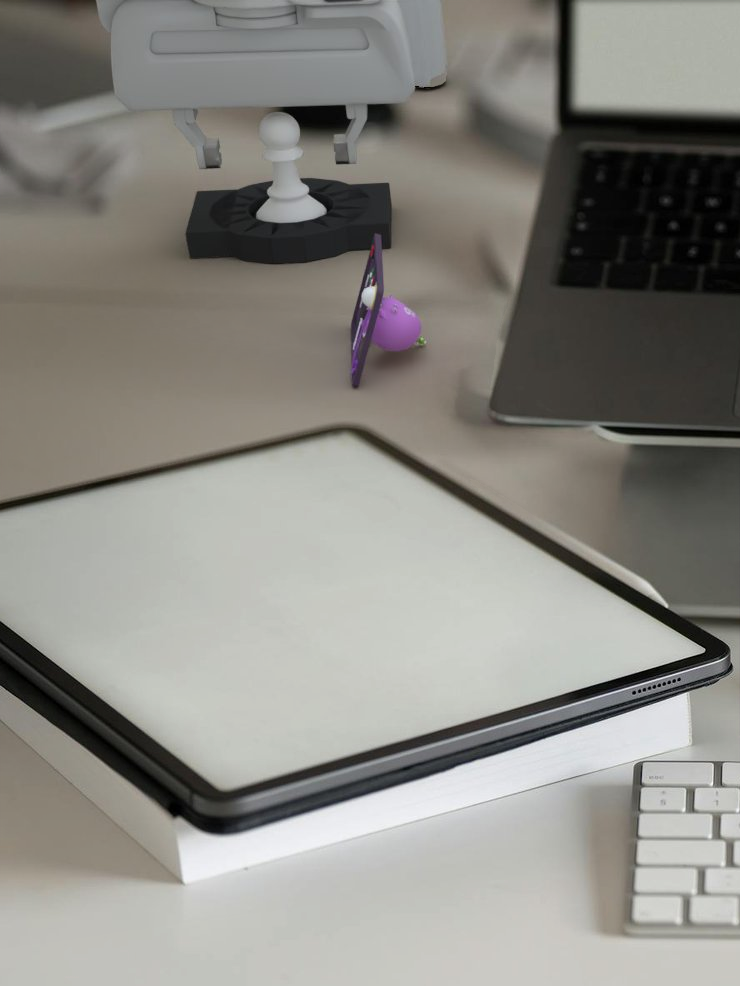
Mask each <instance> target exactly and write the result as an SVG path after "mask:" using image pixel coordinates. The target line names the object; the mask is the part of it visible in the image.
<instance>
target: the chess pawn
mask: <svg viewBox="0 0 740 986" xmlns="http://www.w3.org/2000/svg"><path fill="white" fill-rule="evenodd" d="M258 135H259V138H260V140H261V142H262V144H263V145H264V146H265V147H266V148H265V149H264V151H262V155H261V157H262V158H263V159H264V160H265V161H268V162H272V172H273V174H272V175H273V176H272V177H273V179H272V181H273V184H272V186H271V187H269V189H268V190H267V194H268V195H269V197H270V198H269V199H268V200H267V201H266V202H265V203H264V204H263V206H262V207H261V208H260V209H259V210H258V211H257V213H256V219H259V220H262V221H267V222H276V223H291V222H300V221H305V220H310V219H315V218H317V217H320V216H322V215H325V214H326V212H327V210H326V208H325V207H324V205H322V204H321V203H320V202H318V201H317V200H315V199H314V198H312V197H311V196H309V195H308V192H309V188H308V186H307V185H305V184H303V183H302V182H301V180H300V178H301V177H300V176H299V172H298V169H297V164H296V160H298V159H300V158H302V157H303V156H304V150H302V148H301V147H299V146H298V145H297V144H298V142H299V141H300V137H301V128H300V125H299V122H298V121H297V119H295V118H294V116H292V115H290V114H289V113H287V112H283V111H274V112H270V113H268V114H266V115H265V116H264V117H263V118H262V119H261V120H260V123H259V126H258Z"/></svg>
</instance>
